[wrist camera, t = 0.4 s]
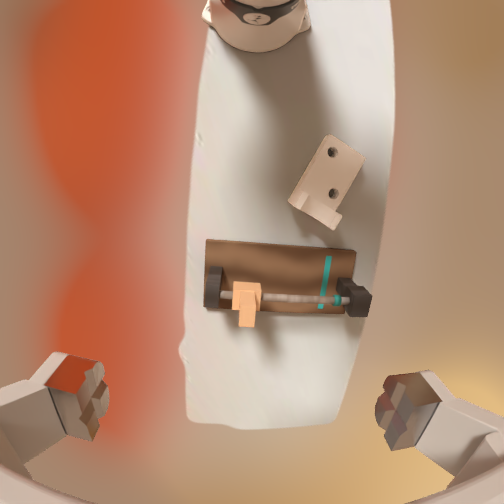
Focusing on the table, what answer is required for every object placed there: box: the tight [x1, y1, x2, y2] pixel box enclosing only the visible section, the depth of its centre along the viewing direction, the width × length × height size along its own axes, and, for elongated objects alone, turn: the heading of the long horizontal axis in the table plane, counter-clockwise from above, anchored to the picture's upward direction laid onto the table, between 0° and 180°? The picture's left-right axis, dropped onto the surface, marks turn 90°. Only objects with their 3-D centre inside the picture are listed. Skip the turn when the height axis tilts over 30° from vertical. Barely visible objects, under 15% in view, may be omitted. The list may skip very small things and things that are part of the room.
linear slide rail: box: [203, 239, 372, 317], centre depth 49 cm, size 12×26×11 cm, turn 85°
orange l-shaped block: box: [232, 281, 261, 327], centre depth 43 cm, size 3×4×8 cm
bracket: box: [288, 134, 366, 230], centre depth 47 cm, size 13×7×8 cm, turn 151°
